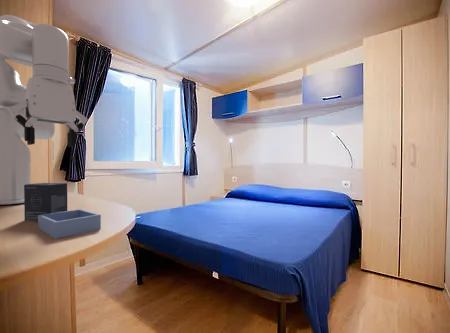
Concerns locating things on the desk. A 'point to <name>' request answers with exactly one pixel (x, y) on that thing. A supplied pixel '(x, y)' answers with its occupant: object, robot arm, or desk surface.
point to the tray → (69, 223)
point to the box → (44, 199)
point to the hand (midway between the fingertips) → (52, 145)
